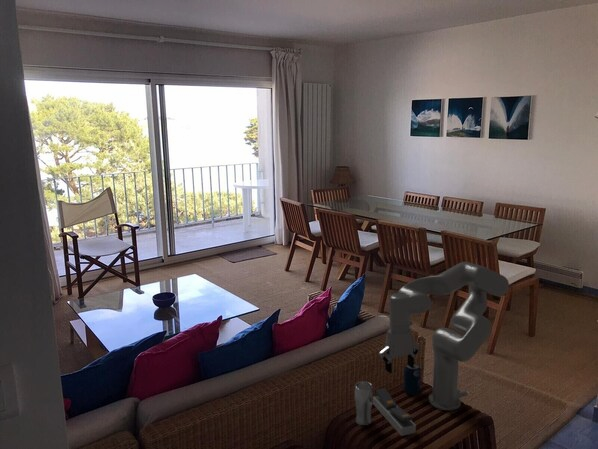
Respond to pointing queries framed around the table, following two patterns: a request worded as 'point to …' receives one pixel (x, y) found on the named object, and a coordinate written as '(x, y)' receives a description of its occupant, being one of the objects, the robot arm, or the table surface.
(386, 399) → the outlet rocker
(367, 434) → the table surface
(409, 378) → the soda can
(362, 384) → the beer glass
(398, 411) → the outlet rocker
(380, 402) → the power strip
